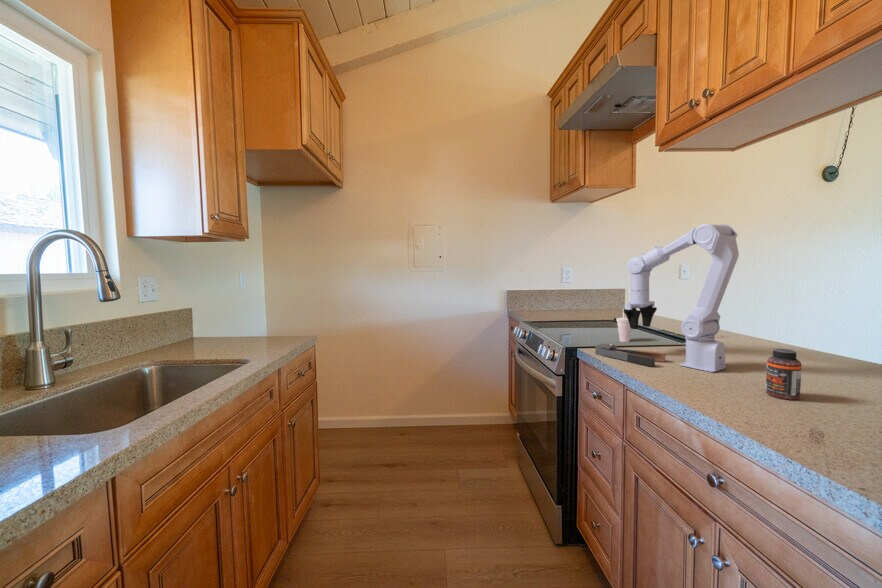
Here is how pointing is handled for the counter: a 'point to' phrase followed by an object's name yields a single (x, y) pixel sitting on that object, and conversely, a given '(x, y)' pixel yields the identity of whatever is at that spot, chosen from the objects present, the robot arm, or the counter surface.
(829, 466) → the counter surface
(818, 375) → the counter surface
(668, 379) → the counter surface
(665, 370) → the counter surface
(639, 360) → the frame
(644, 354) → the tong arm
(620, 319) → the smoothie
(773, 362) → the supplement bottle
